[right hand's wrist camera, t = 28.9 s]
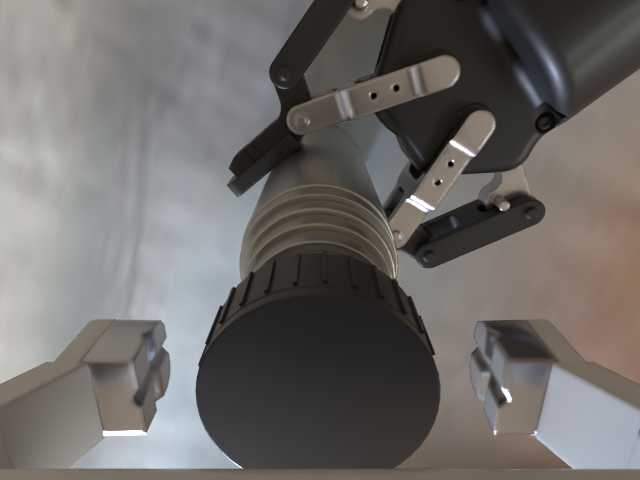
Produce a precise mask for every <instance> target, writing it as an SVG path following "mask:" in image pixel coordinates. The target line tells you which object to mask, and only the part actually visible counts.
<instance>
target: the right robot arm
mask: <svg viewBox="0 0 640 480" xmlns="http://www.w3.org/2000/svg"><path fill="white" fill-rule="evenodd" d="M165 339H166V332H165V326H164V324H163V323H162V321H161V320H115V319H96V320H92V321H90V322H89V323H88V324H87V325H86V326H85V327H84V329H83V330H82V331H81V332H80V333H79V334H78V335H77V336H76V338H75V339H74V340H73V341H72V342H71V343H70V344H69V345H68V347H67V348H66V349H65V350H64V351H63V352H62V353H61V355H60V356H59V357H58V358H57V359H56V360H55V361H54V362H46V363H44V364H42V365H39V366H37V367H35V368H33V369H31V370H29V371H27V372H25V373H23V374H21V375H19V376H16V377H14V378H12V379H10V380H8V381H6V382H4V383H2V384H0V480H640V384H638V383H636V382H634V381H632V380H630V379H628V378H626V377H623V376H621V375H619V374H617V373H615V372H613V371H611V370H609V369H607V368H605V367H603V366H600V365H598V364H596V363H594V362H586V361H585V360H584V359H583V358H582V357H581V356H580V355H579V353H578V352H577V351H576V350H575V349H574V348H573V347H572V346H571V344H570V343H569V342H568V341H567V340H566V339H565V338H564V336H563V335H562V334H561V333H560V332H559V331H558V330H557V329H556V327H555V326H554V325H553V324H552V323H551V322H550V321H548V320H546V319H532V320H500V321H478V322H477V324H476V326H475V331H474V339H475V341H476V343H477V345H478V347H477V348H476V349H475V350H474V351H473V352H472V353H471V358H470V366H469V367H470V379H471V383H472V387H473V389H474V392H475V394H476V396H477V397H479V398H480V399H481V400H483V401H484V402H485V403H484V409H483V411H484V414H485V416H486V418H487V420H488V422H489V424H490V426H491V428H492V430H493V433H494V434H500V435H536V438H537V439H538V440H539V441H540V442H542V443H543V444H544V445H545V446H546V447H548V448H549V449H550V450H551V451H552V452H554V453H555V454H556V455H557V456H558V457H560V458H561V459H562V460H563V461H564V462H566V463H567V464H568V465H569V466H570V467H572V468H573V469H67V468H69V467H70V466H71V465H72V464H73V463H75V462H76V461H77V460H78V459H79V458H81V457H82V456H83V455H84V454H85V453H87V452H88V451H89V450H90V449H91V448H93V447H94V446H95V445H96V444H97V443H99V442H100V441H101V440H102V439H103V438H104V435H139V434H146V433H147V431H148V428H149V426H150V424H151V422H152V420H153V418H154V416H155V414H156V411H157V409H156V403H155V402H156V401H157V400H159V399H160V398H161V397H163V396H164V394H165V392H166V389H167V387H168V383H169V378H170V357H169V353H168V352H167V351H166V350H165V349H164V348H163V347H162V345H163V343H164V341H165Z"/></svg>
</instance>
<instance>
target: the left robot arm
mask: <svg viewBox="0 0 640 480" xmlns="http://www.w3.org/2000/svg"><path fill="white" fill-rule="evenodd" d="M376 11H385V12H387V13H389V14H390V18H389V22H388V25H387V29H386V32H385V36H384V39H383V43H382V46H381V50H380V53H379V56H378V60H377V63H376V67H375V70H374V73H372V74H369V75H366V76H363V77H360V78H358V79H355V80H352V81H349V82H346V83H344V84H341V85H339V86H337V87H334V88H332V89H329V90H326V91H323V92H321V93H318V94H315V95H312V96H311V94H310V92H309V89H308V86H307V83H306V80H305V77H304V73H305V72H306V70H307V69H308V67H309V66H310V64H311V63H312V62H313V60H314V59H315V57H316V56H317V55H318V53H319V52H320V50H321V49H322V47H323V46H324V45H325V43H326V42H327V40H328V39H329V38H330V36H331V35H332V33H333V32H334V30H335V29H336V28H337V26H338V25H339V23H340V22H341V21H342V19H343V18H344V16H346V17H347V18H348V19H350V20H351V21H353V22H362V21H364V20H366V19H367V18H368V17H369V16H370V15H371V14H372V13H374V12H376ZM638 69H640V0H314V2H313V3H312V4H311V6H310V7H309V9H308V10H307V12H306V13H305V15H304V16H303V18H302V19H301V21H300V22H299V24H298V25H297V27H296V28H295V30H294V31H293V33H292V34H291V36H290V37H289V39H288V40H287V42H286V43H285V45H284V46H283V47H282V49H281V50H280V52H279V53H278V55H277V56H276V58H275V59H274V61H273V62H272V64H271V66H270V70H269V75H270V79H271V81H272V82H273V84H274V86H275V88H276V91H277V94H278V96H279V99H280V102H281V113H280V116H279V117H278V118H277V119H276V120H275V121H274V122H273V123H271V124H270V125H269V126H268V127H267V128H266V129H264V130H263V131H262V132H261V133H260V134H259V135H257V136H256V137H255V138H254V139H253V140H252V141H251V142H249V143H248V144H247V145H246V146H245V147H244V148H242V149H241V150H240V151H239V152H238V153H237V154H236V156H235V157H234V158H233V160H232V163H231V165H230V167H229V169H230V170H231V171H232V172H233V174H234V176H233V178H232V179H231V180H230V182H229V183H228V184H227V186H228V187H229V188H230V189H231V191H232V192H233V193H234V194H235V195H236V196H237V197H239V196H240V195H242V194H243V193H244V192H246V191H247V190H248V189H249V188H250V187H252V186H253V185H254V184H255V183H256V182H258V181H259V180H260V179H261V178H262V177H264V176H265V175H266V174H267V173H268V172H270V171H271V170H272V169H273V168H274V167H276V166H277V165H278V164H279V163H280V162H281V161H282V160H284V159H285V158H286V157H288V156H289V155H290V154H291V153H292V152H294V151H295V150H296V149H297V148H299V147H300V146H301V142H302V137H303V136H304V135H306V134H309V133H312V132H315V131H317V130H320V129H323V128H326V127H329V126H332V125H335V124H338V123H341V122H344V121H349V120H354V119H357V118H360V117H363V116H366V115H369V114H372V113H375V115H376V116H377V117H378V119H379V120H380V121H381V122H382V123H383V125H384V126H385V127H386V128H387V129H389V130H390V131H391V132H393V133H394V134H395V135H396V137H397V140H398V142H399V145H400V148H401V149H402V151H403V152H404V153H405V155H406V156H407V157H408V159H409V162H408V163H407V165H406V166H405V168H404V169H403V171H402V172H401V174H400V176H399V178H398V181H397V184H396V186H395V188H394V189H393V191H392V192H391V194H390V195H389V197H388V198H387V200H386V201H385V203H384V204H383V206H382V207H383V210H384V212H385V215H386V217H387V219H388V222H389V224H390V227H391V229H392V231H393V234H394V238H395V242H396V250H399V251H402V252H404V253H406V254H408V255H409V256H411V257H413V258H415V259H416V260H417V262H418V264H419V265H420V266H422V267H424V268H433V267H436V266H438V265H440V264H443V263H445V262H447V261H450V260H452V259H455V258H457V257H459V256H462V255H464V254H466V253H469V252H471V251H474V250H476V249H478V248H481V247H483V246H485V245H488V244H490V243H493V242H495V241H497V240H500V239H502V238H504V237H507V236H509V235H512V234H514V233H516V232H519V231H521V230H524V229H526V228H528V227H531V226H533V225H535V224H537V223H539V222H540V221H541V220H542V219H543V217H544V215H545V207H544V205H543V203H541V202H540V201H539V200H537V199H536V198H535V197H534V196H533V195H532V194H531V191H530V188H529V184H528V181H527V178H526V175H525V172H524V169H523V166H522V163H523V162H524V161H525V160H526V159H527V158H528V156H529V154H530V152H531V151H532V149H533V147H534V146H535V144H536V143H537V142H538V140H539V139H540V138H541V137H542V136H543V135H544V134H546V133H547V132H549V131H550V130H552V129H554V128H555V127H557V126H559V125H560V124H562V123H564V122H565V121H567V120H569V119H570V118H571V117H573V116H574V115H576V114H577V113H578V112H580V111H581V110H583V109H584V108H585V107H587V106H588V105H590V104H591V103H592V102H594V101H595V100H596V99H598V98H599V97H601V96H602V95H603V94H605V93H606V92H608V91H609V90H610V89H612V88H613V87H615V86H616V85H617V84H619V83H620V82H621V81H623V80H624V79H626V78H627V77H628V76H630V75H631V74H633V73H634V72H635V71H637V70H638ZM493 172H495V175H494V178H493V180H492V181H491V182H490V183H489V184H487V185H486V186H484V187H483V188H482V189H481V190H480V192H479V196H478V199H477V200H475V201H472V202H470V203H468V204H465V205H463V206H461V207H459V208H456V209H454V210H452V211H450V212H447V213H445V214H443V215H440V216H438V217H436V218H434V219H431V220H429V221H427V222H424V223H422V224H420V223H421V222H422V220H423V219H424V217H425V216H426V215H427V214H428V213H429V212H431V211H433V210H435V209H436V208H437V206H438V205H439V204H440V202H441V201H442V200H443V198H444V197H445V195H446V194H447V193H448V191H449V190H450V188H451V187H452V186H453V184H454V183H455V181H456V180H457V179H458V177H459V176H460V174H476V173H493ZM436 180H438V181H437V182H435V181H436ZM419 224H420V225H419Z"/></svg>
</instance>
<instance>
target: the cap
mask: <svg viewBox="0 0 640 480" xmlns="http://www.w3.org/2000/svg"><path fill="white" fill-rule="evenodd" d="M205 344H206V346H205V349H204V351H203V354H202V356H201V359H200V361H199V365H198V366H199V371H198V375H197V380H196V402H197V407H198V411H199V415H200V418H201V421H202V423H203V425H204V428H205V430H206V431H207V433H208V435H209V436H210V438H211V440H212V441H213V442H214V443H215V445H216V446H217V447H218V448H219V450H220V451H221V452H222V453H224V454H225V455H226V456H227V457H228V458H229V459H230V460H231V461H233V462H234V463H235V464H237V465H238V466H239V467H241V468H242V469H394V468H395V467H397V466H398V465H400V464H401V463H403V462H404V461H405V460H406V459H407V458H409V457H410V456H411V455H412V454H413V453H414V452H415V451H416V450H417V449H418V448H419V446H420V445H421V444H422V443H423V441H424V440H425V438H426V437H427V436H428V434H429V432H430V430H431V428H432V426H433V424H434V421H435V419H436V416H437V413H438V408H439V402H440V380H439V374H438V370H437V367H436V364H435V361H434V359H433V356H432V355H435V352H434V349H433V347H432V344H431V342H430V339H429V337H428V334H427V331H426V329H425V326H424V324H423V321H422V319H421V316H419V315H418V313H417V310H416V308H415V305H414V302H413V300H412V298H411V296H409V297H408V296H407V295H406V294H405V292H404V291H403V290H402V289H401V288H400V286H399V285H398V282H397V280H396V279H395V278H394V279H391V278H390V277H389V276H387V275H386V274H385V273H383V272H382V271H380V270H379V269H378V268H377V266H376V265H373V266H372V265H370V264H367V263H365V262H363V261H360V260H358V259H354V258H353V256H351V255H349V257H347V256H344V255H337V254H331V253H327V251H323V253H307V254H300V253H296V255H294V256H289V257H285V258H282V259H279V260H276V261H275V259H273V260H271V262H270V263H269V264H267V265H265V266H263V267H261V268H259V269H258V270H256V271H255V272H252V271H251V272H249V274H248V277H247V278H245V279H244V280H243V281H242V282H241V283H240V284H239V285H238V286H237V287H236V288H235V287H233V288H232V289H231V291H230V294H229V297H228V299H227V301H226V302H225V304H224V306H220V308H219V310H218V313H217V315H216V318H215V320H214V323H213V325H212V328H211V330H210V332H209V335H208V337H207V340H206V342H205Z"/></svg>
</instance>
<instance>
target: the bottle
mask: <svg viewBox="0 0 640 480" xmlns="http://www.w3.org/2000/svg"><path fill="white" fill-rule="evenodd" d="M323 251H327V253H331V254H337V255H344V256H347V257H349V255H351V256H353V258H354V259H358V260H360V261H363V262H365V263H367V264H370V265H372V266H373V265H376V266H377V268H378V269H379V270H380V271H382V272H383V273H385V274H386V275H387V276H389V277H390V278H391V279H394V278H395V279H396V278H397V273H398V258H397V251H396V242H395V238H394V234H393V231H392V229H391V227H390V224H389V222H388V219H387V217H386V215H385V212H384V210H383V207H382V205H381V203H380V200H379V198H378V195H377V193H376V191H375V188H374V186H373V183H372V181H371V179H370V176H369V174H368V171H367V169H366V167H365V164H364V162H363V159H362V157H361V155H360V152H359V150H358V147H357V145H356V144H355V142H354V141H353V139H352V138H351V137H350V136H349V135H348V134H347V133H346V132H344V131H343V130H341V129H340V128H338V127H335V126H333V125H332V126H329V127H326V128H323V129H320V130H317V131H315V132H312V133H309V134H306V135H304V136H303V137H302V142H301V146H300V147H299V148H297V149H296V150H295V151H294V152H292V153H291V154H290V155H289V156H288V157H286V158H285V159H284V160H282V161H281V162H280V163H279V164H278V165H277V166H276V167H274V168H273V169H272V170H271V172H270V174H269V177H268V179H267V181H266V184H265V186H264V188H263V191H262V193H261V195H260V198H259V200H258V202H257V205H256V207H255V209H254V212H253V214H252V216H251V219H250V221H249V223H248V225H247V228H246V231H245V234H244V237H243V241H242V247H241V254H240V276H241V282H242V281H243V280H244V279H245V278H247V277H248V274H249V272H251V271H252V272H255V271H256V270H258V269H259V268H261V267H263V266H265V265H267V264H269V263H270V262H271V260H273V259H275V261H276V260H279V259H282V258H285V257H289V256H294V255H296V253H300V254H307V253H323Z"/></svg>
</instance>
